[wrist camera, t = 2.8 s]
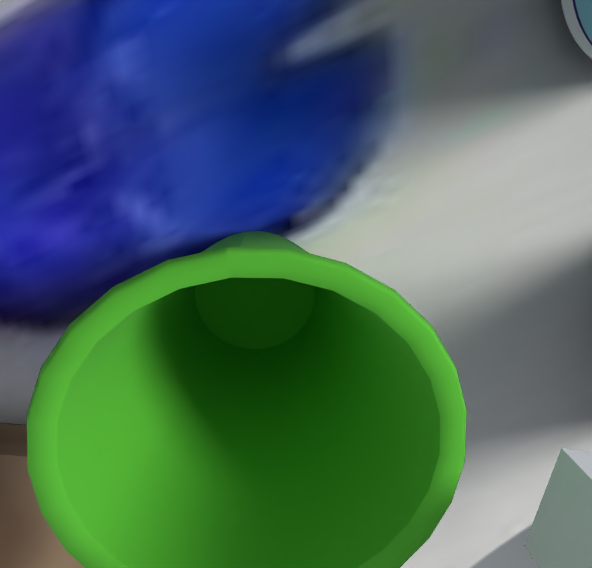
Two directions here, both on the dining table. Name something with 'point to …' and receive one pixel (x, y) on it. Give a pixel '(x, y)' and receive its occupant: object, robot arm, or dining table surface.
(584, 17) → the beverage can
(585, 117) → the dining table surface
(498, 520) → the dining table surface
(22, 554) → the wooden display stand
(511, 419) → the dining table surface
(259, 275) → the cup
